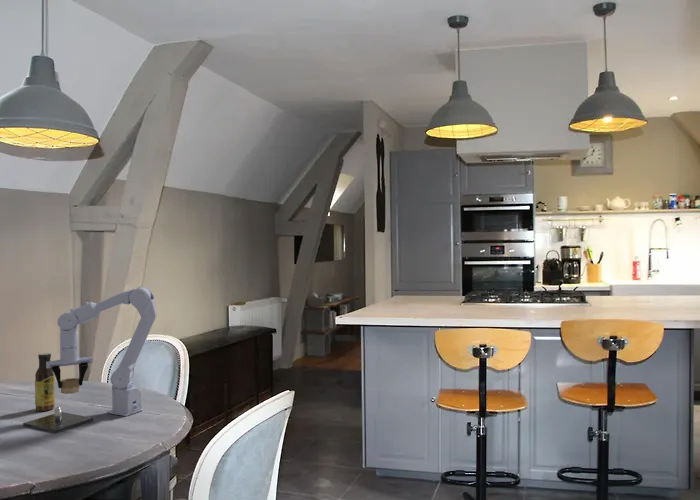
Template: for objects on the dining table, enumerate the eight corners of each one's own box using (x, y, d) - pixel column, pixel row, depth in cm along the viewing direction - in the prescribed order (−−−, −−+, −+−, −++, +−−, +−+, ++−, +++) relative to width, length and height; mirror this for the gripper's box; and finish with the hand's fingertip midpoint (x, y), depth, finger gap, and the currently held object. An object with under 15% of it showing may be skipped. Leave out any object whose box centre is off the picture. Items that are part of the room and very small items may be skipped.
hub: (92, 420, 210) (92, 404, 210) (55, 432, 198) (55, 415, 197) (61, 414, 217) (60, 399, 217) (23, 426, 205) (22, 409, 205)
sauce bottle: (47, 412, 221) (45, 356, 220) (31, 411, 222) (29, 355, 221) (59, 407, 227) (57, 352, 226) (44, 406, 228) (42, 351, 228)
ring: (82, 390, 218) (82, 379, 218) (68, 394, 213) (68, 382, 213) (71, 388, 221) (71, 377, 221) (57, 392, 216) (57, 380, 216)
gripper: (89, 343, 223) (90, 381, 224) (44, 347, 216) (45, 386, 216) (93, 346, 217) (94, 385, 218) (46, 350, 210) (47, 391, 210)
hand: (70, 386), depth 217 cm, fingers closed on ring, 6 cm apart
